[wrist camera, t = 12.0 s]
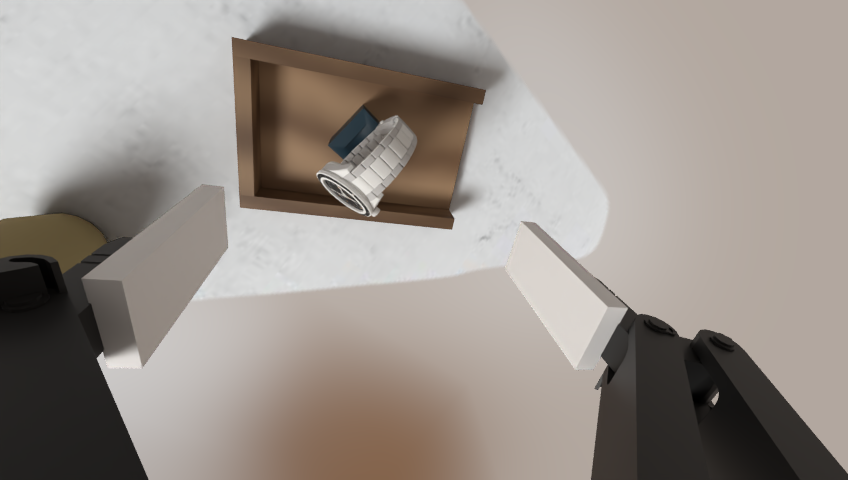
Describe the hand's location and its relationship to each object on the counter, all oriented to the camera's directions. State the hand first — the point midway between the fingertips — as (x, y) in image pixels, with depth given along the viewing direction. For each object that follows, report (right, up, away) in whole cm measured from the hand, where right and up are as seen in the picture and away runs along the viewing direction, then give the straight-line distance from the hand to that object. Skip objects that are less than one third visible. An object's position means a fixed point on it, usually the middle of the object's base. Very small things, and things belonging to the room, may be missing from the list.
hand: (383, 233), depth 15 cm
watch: (-3, +9, +17) cm, 20 cm away
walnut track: (-4, +9, +18) cm, 20 cm away
